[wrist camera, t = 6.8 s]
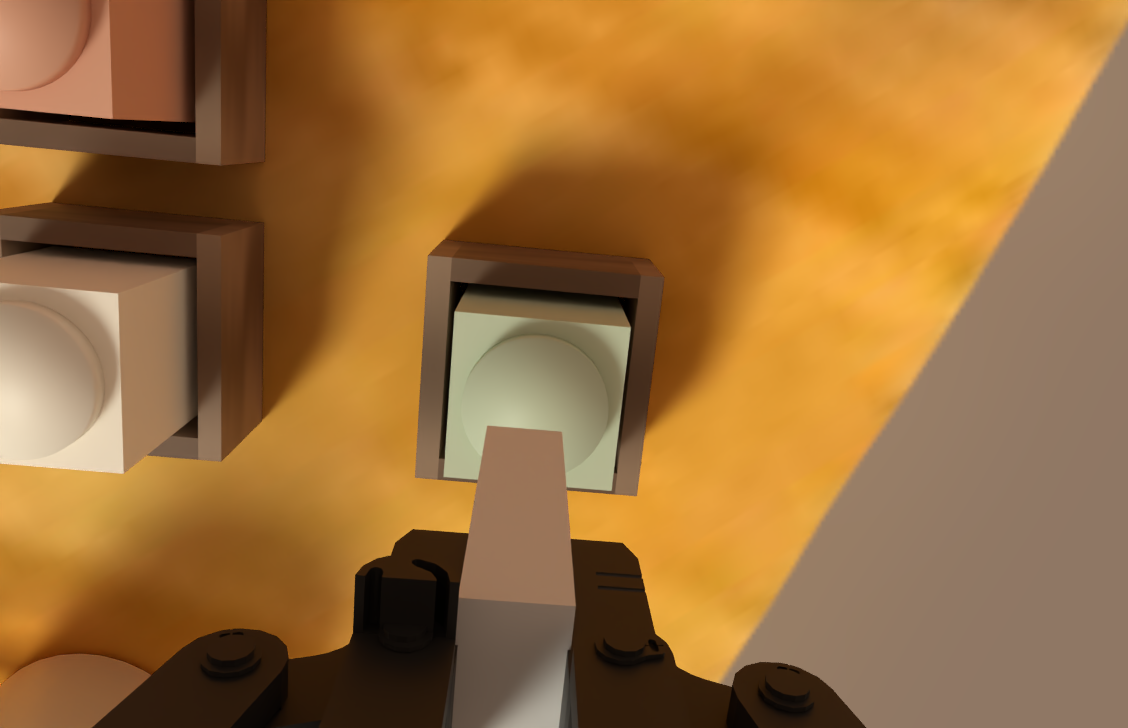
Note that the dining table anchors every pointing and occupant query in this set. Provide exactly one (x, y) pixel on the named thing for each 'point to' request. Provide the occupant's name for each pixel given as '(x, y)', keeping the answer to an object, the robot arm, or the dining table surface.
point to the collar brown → (221, 100)
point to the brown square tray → (545, 273)
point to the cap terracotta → (99, 58)
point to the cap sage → (538, 376)
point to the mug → (66, 691)
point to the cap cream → (95, 356)
